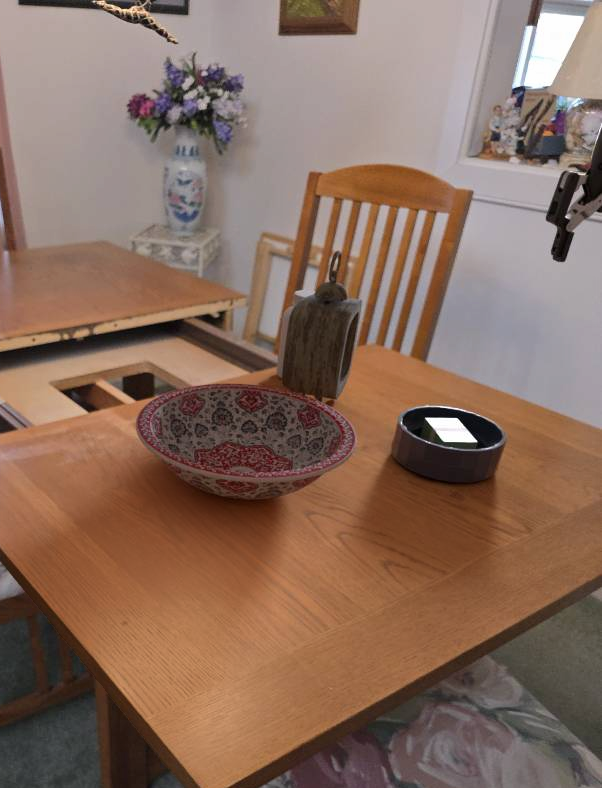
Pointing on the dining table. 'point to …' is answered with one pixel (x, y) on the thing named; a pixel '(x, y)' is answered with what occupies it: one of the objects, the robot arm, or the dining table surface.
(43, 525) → the dining table surface
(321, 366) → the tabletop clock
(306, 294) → the pill bottle
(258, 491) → the ceramic bowl
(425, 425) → the block
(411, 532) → the dining table surface
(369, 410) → the dining table surface
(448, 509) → the dining table surface
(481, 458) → the bowl
